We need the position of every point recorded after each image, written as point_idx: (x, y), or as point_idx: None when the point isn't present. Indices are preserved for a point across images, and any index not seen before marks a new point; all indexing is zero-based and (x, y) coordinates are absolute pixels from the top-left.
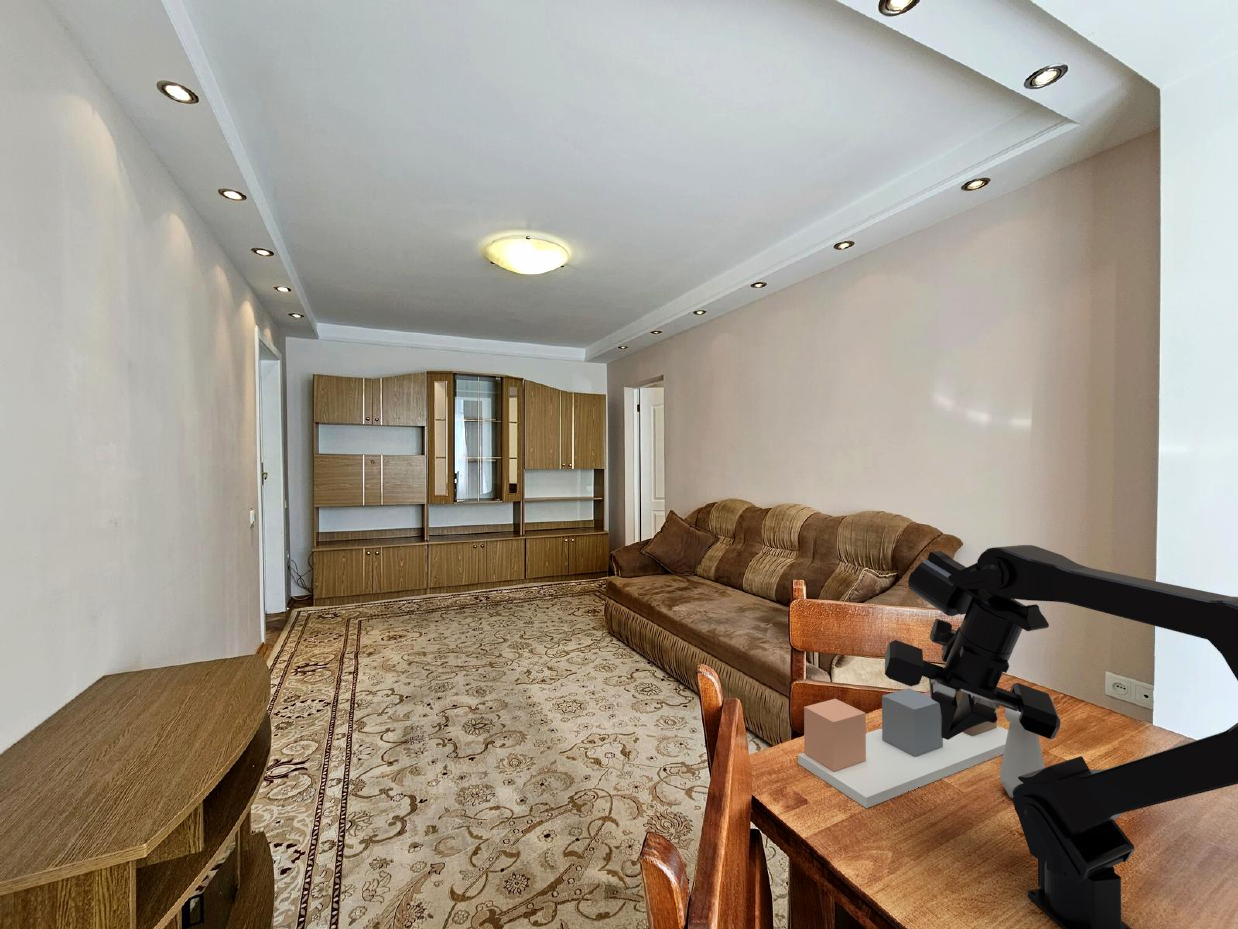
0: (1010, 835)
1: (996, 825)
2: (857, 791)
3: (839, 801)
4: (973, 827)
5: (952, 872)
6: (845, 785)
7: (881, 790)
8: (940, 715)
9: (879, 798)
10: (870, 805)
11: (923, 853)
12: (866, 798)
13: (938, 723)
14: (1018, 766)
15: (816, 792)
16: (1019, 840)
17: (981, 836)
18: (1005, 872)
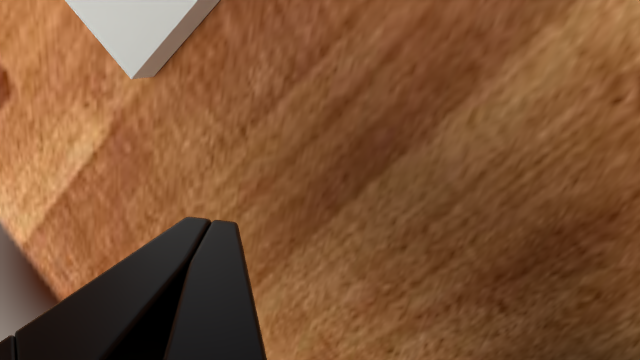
0: (598, 113)
1: (573, 58)
2: (106, 47)
3: (84, 57)
4: (473, 95)
5: (332, 324)
6: (75, 9)
7: (178, 14)
8: (81, 295)
9: (182, 32)
10: (162, 64)
11: (277, 260)
12: (133, 77)
13: None
14: None
15: (25, 24)
16: (619, 137)
17: (481, 144)
18: (481, 308)
